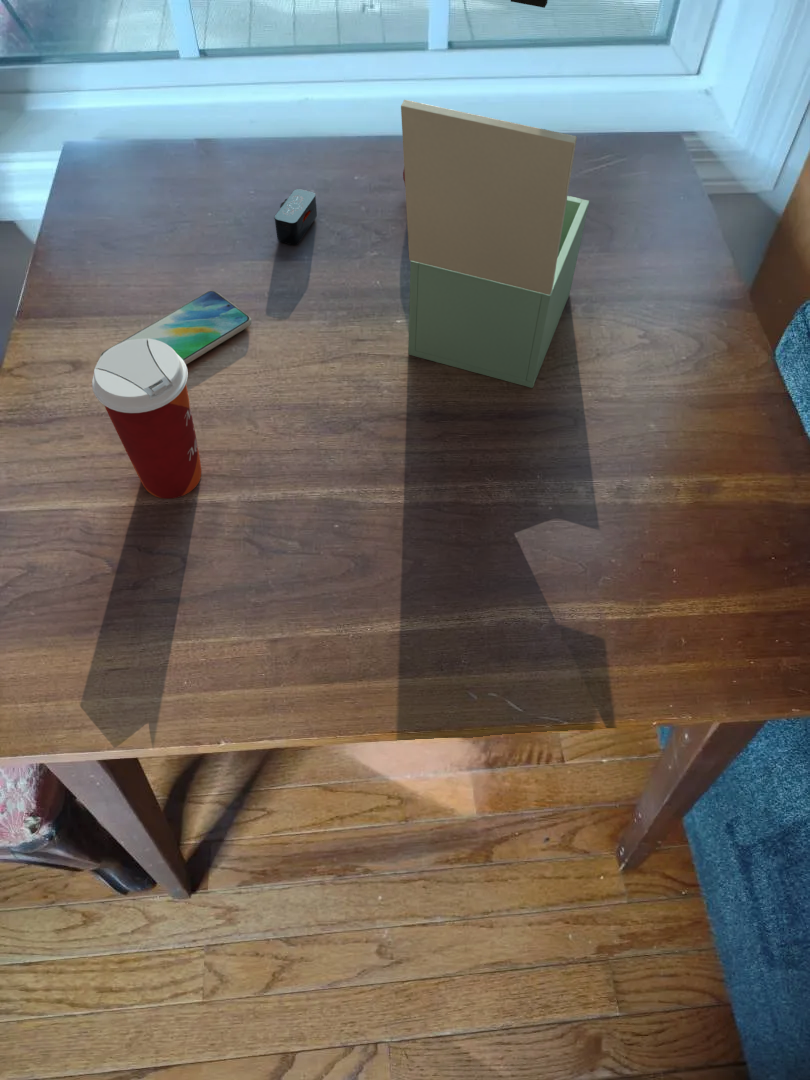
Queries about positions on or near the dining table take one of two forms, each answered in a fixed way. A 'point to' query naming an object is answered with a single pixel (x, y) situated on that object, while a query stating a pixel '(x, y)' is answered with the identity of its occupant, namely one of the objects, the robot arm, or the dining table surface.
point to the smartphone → (196, 326)
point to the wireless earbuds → (295, 216)
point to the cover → (485, 194)
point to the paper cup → (151, 413)
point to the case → (492, 313)
